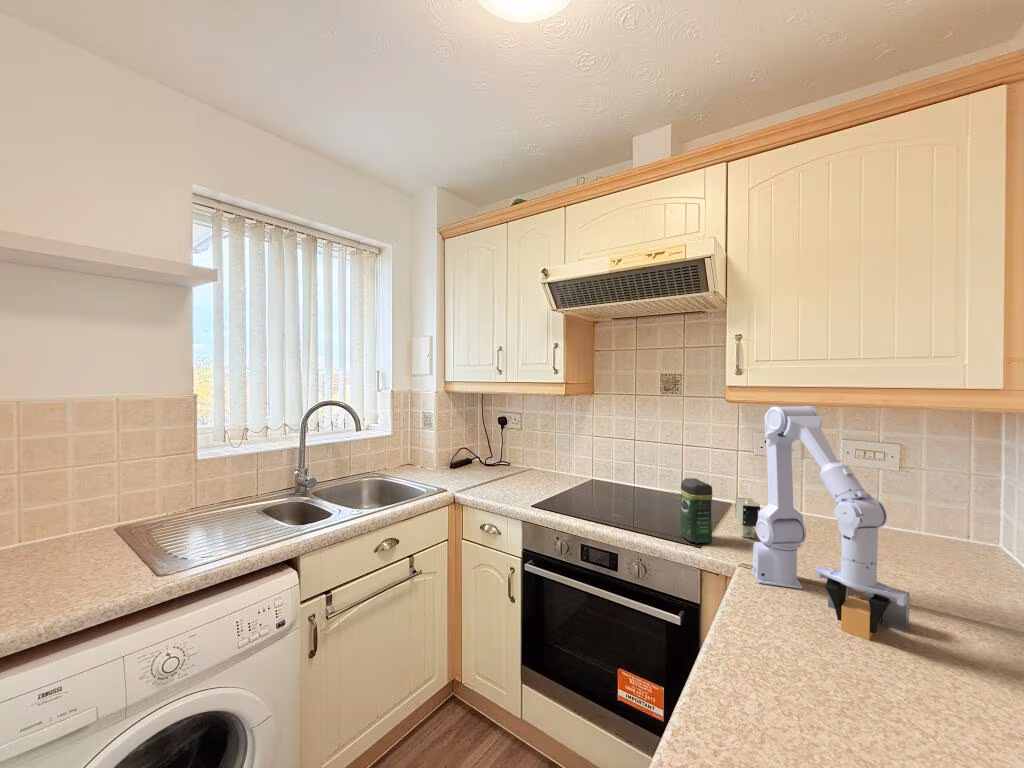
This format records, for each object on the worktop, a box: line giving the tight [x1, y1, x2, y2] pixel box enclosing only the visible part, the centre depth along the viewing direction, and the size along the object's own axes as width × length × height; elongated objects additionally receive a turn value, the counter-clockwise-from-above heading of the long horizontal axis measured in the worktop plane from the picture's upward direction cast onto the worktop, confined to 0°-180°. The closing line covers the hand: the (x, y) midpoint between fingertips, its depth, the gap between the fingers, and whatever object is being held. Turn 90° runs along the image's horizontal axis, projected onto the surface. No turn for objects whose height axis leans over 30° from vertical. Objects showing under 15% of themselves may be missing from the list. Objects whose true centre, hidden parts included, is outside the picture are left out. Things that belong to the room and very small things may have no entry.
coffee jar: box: [679, 477, 713, 544], centre depth 137 cm, size 10×8×19 cm
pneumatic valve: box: [734, 497, 761, 539], centre depth 139 cm, size 6×12×12 cm, turn 167°
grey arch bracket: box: [827, 586, 911, 633], centre depth 94 cm, size 4×13×7 cm, turn 41°
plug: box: [840, 591, 874, 641], centre depth 93 cm, size 16×4×5 cm, turn 131°
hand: (857, 624), depth 88 cm, fingers closed on plug, 5 cm apart
